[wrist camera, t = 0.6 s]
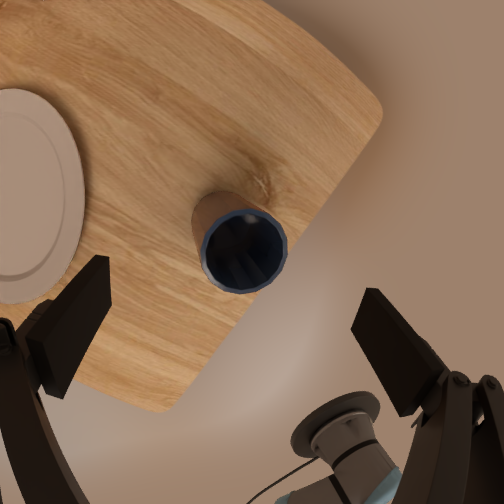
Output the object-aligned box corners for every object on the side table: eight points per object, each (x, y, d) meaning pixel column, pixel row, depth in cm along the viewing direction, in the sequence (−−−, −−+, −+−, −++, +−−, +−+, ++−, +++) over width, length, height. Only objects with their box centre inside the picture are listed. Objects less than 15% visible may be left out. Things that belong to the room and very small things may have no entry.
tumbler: (225, 261, 34) (249, 308, 24) (178, 227, 31) (182, 262, 21) (263, 216, 34) (303, 245, 23) (218, 178, 31) (241, 190, 21)
